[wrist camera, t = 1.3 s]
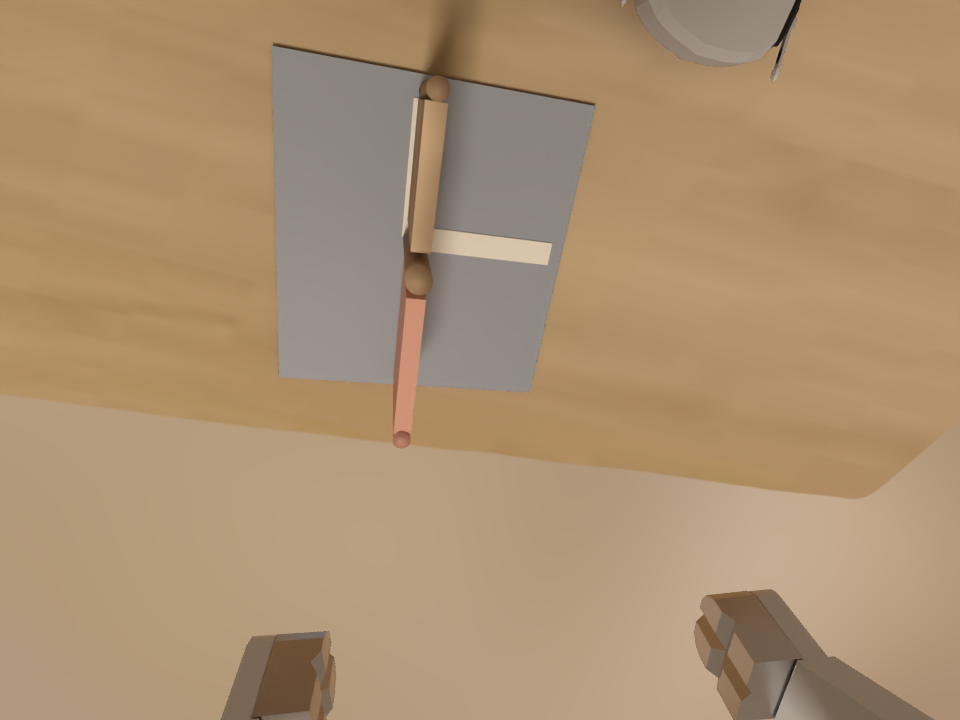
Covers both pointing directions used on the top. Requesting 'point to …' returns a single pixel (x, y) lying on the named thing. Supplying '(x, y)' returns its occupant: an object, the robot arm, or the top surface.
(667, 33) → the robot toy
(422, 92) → the fence fixed
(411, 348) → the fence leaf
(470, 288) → the board
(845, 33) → the top surface
